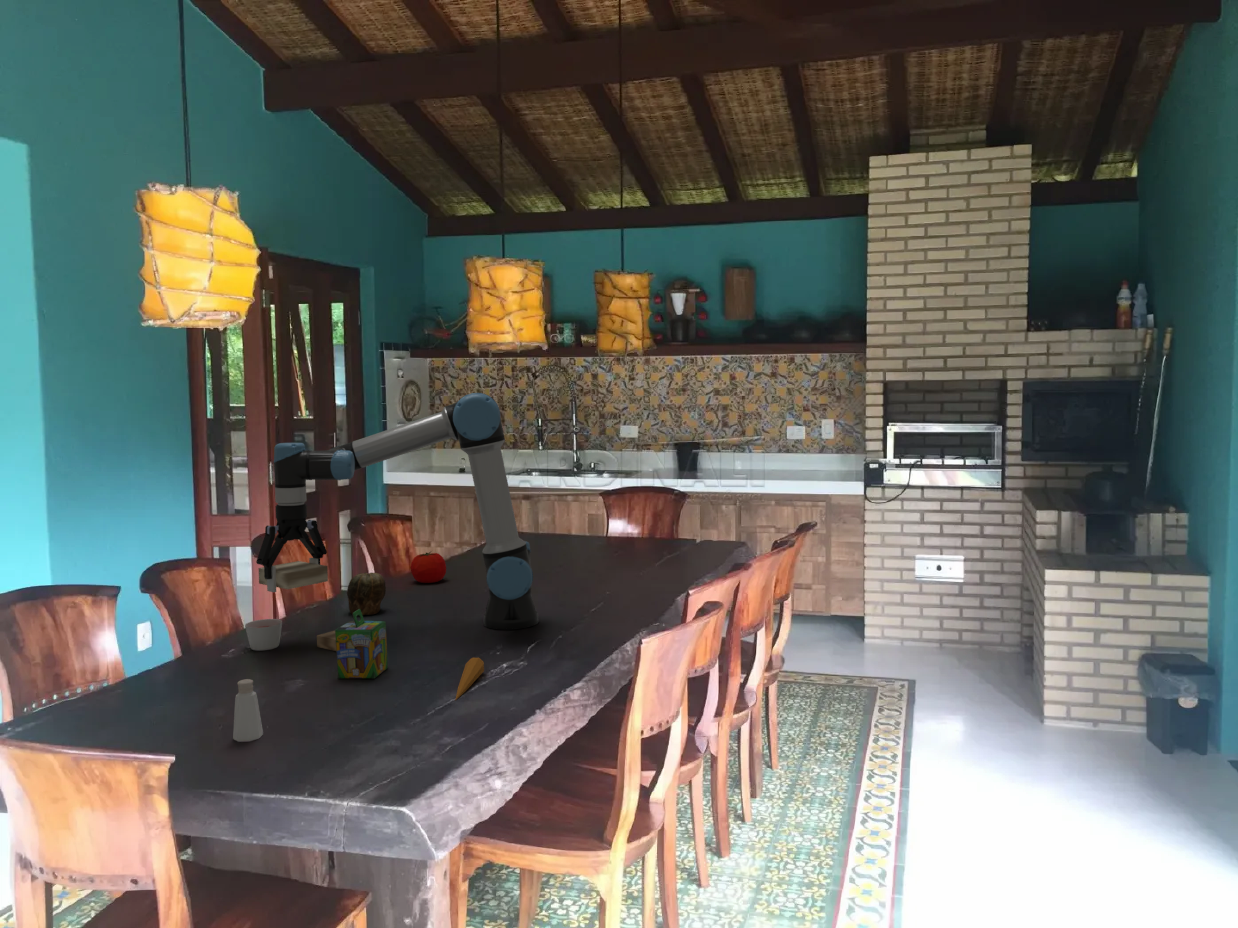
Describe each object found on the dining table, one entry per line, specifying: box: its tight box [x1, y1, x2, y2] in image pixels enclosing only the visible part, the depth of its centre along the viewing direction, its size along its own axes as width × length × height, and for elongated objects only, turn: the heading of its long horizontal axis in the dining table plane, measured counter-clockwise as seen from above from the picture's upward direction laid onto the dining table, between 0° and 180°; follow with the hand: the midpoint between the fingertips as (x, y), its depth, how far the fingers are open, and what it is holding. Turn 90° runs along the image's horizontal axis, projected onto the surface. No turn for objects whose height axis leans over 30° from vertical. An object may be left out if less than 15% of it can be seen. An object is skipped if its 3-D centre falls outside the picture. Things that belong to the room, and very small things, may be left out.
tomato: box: [410, 551, 447, 584], centre depth 326 cm, size 12×12×10 cm
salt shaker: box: [232, 678, 264, 743], centre depth 185 cm, size 5×5×11 cm
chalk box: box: [334, 609, 389, 680], centre depth 224 cm, size 9×9×15 cm
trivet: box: [316, 630, 336, 652], centre depth 249 cm, size 9×9×3 cm
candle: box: [244, 618, 283, 652], centre depth 249 cm, size 9×9×6 cm
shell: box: [346, 572, 387, 617], centre depth 284 cm, size 11×11×12 cm
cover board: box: [257, 560, 329, 590], centre depth 247 cm, size 12×12×4 cm
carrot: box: [455, 657, 485, 701], centre depth 214 cm, size 20×4×4 cm, turn 175°
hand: (293, 587), depth 248 cm, fingers closed on cover board, 12 cm apart
